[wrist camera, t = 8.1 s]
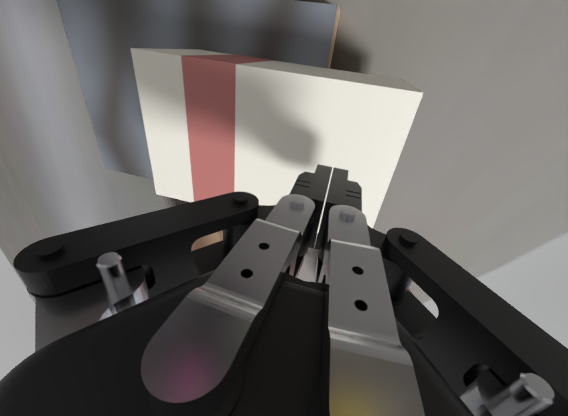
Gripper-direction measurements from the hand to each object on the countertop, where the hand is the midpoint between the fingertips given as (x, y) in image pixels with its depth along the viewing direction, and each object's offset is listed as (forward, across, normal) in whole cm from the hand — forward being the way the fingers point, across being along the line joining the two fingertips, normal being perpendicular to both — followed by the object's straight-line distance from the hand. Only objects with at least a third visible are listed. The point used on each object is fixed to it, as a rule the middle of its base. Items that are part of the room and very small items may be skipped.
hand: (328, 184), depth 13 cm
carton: (+6, -3, 0) cm, 6 cm away
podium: (+12, +13, 0) cm, 18 cm away
